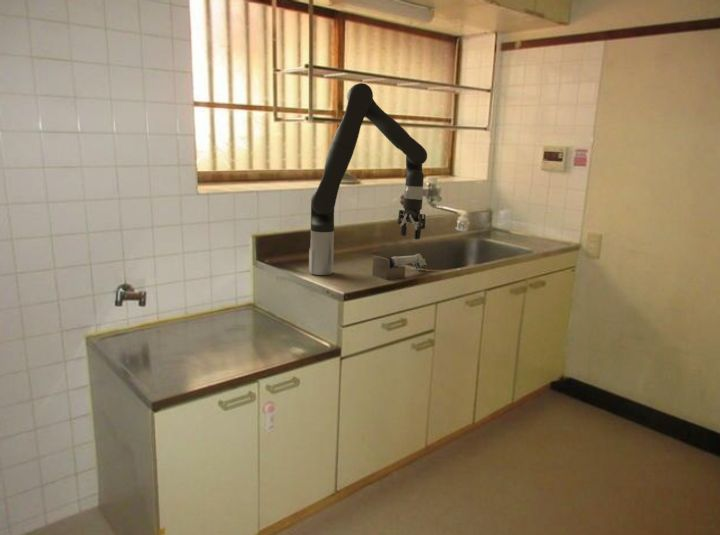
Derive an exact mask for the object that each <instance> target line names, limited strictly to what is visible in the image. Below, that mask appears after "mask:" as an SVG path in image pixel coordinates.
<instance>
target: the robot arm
mask: <svg viewBox="0 0 720 535" xmlns="http://www.w3.org/2000/svg"><path fill="white" fill-rule="evenodd" d="M373 93H374V92H373V90H372V88H371V86H369V85H368V84H366V83H363V82H359V83H356V84H354V85H353V86H351V87H350V89H348V92H347V96H346V98H347V104H346V107H345V111H344V114H343V117H342V120H341V121H340V124H339V125H338V127H337V129H336V131H335V133H334V135H333V137H332V140H331V141H330V145H329V149H328V151H327V155H326V158H325V162H324V163H325V164H324V169H323V175H322V176H321V179H320V182H319V184H318V187H317V188H316V191H315V192H314V193H313V194H312V196H311V201H310V246H309V249H308V272H309V274H311V275H314V276H315V275H316V276H329V275H332V274H333V272H334V246H335V245H334V243H335V242H334V241H335V206H336V201H337V198H338V193H339V190H340V186H341V183H342V180H343V178H344V177H345V174H346V171H347V170H348V168H349V165H350V163H351V160H352V157H353V155H354V152H355V148H356V146H357V143H358V138H359V135H360V131H361V127H362V124H363V122H364V119H365V118H366V119H368V121H370V122H371V123H372V124H373V125H374V126H375V127H376V128H377V129H378V130H379V131H380V132H381V134H382V135H383V136H384V137H385V138H386V139H388V141H389V142H390V143H391V144H392V145H393V146H394V148H396V149H397V150H400V151H401V152H402V153H403V154H404V155H405V171H406V175H405V187H404V191H403V204H402V205H403V206H402V208H403V209H399V210H398V218H397V224H398V225H399V226H400V235H401V236H403V237H405V236H407V228H408V227H407V226H408V224H409V223H410V224H412V225H413V226H414V229H415V230H414V240H420V239H421V232H422V230H424V229H426V213H421V210H422V209H423V197H424V182H425V181H424V179H425V178H424V172H423V164H424V163H426V161H427V159H428V152H427V150H426V149H425V147H423V146H422V145H421V144H420V143H419V142H418V141H417V140H416V139H414V138H413V137H412V136H411V135H410V134H409V133H408V131H407V130H405V129H404V127H402V126H401V124H399V123H398V121H397V120H395V119H394V118H393V117H391V116H390V115H389V114H387V113H386V112H385V110H383V109H382V108H381V107H380V106H379V105H378V104H377V103H376V101H375V99H374V94H373Z"/></svg>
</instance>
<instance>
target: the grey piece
mask: <svg viewBox="0 0 720 535" xmlns="http://www.w3.org/2000/svg"><path fill="white" fill-rule="evenodd" d="M387 259H389V260H390V268H391V267H400V266H406V265H409V264H412V265H413V266H414V268H415V270H419V268H420V269H421V268H423V267H424V268H425V267H426V266H427V263H426V258H423V256H422V255H421V253H416V254H413V255H402V256H395V255H393V256H392V257H389V258H387Z"/></svg>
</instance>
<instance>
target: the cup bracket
mask: <svg viewBox="0 0 720 535" xmlns="http://www.w3.org/2000/svg"><path fill="white" fill-rule="evenodd" d="M371 275H372V276H374V277H376V278H380V279H382V280H385V281H389V280H396V279H405V277H406V265H401V266H398V267H391V268H390V260H389V259H388V258H385V257H382V256H379V255H372V274H371Z"/></svg>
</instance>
